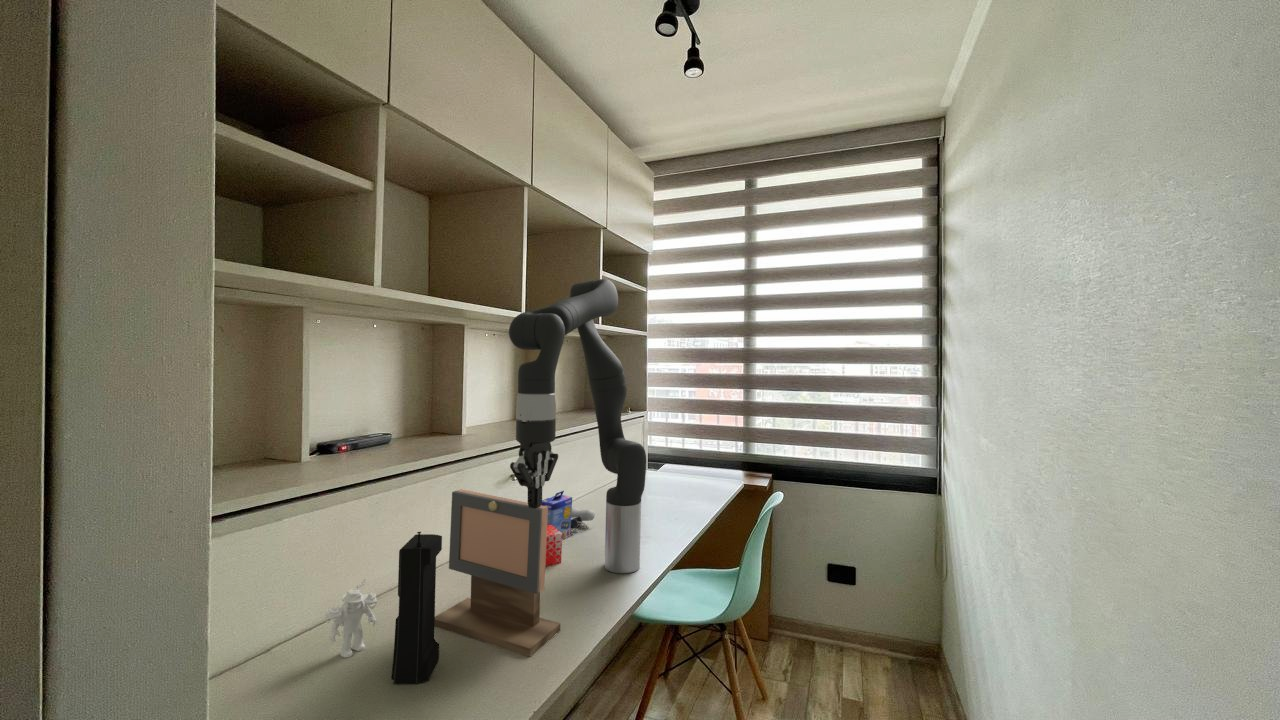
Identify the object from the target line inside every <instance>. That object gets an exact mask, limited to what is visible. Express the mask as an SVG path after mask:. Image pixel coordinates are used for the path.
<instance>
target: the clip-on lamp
mask: <svg viewBox="0 0 1280 720" xmlns="http://www.w3.org/2000/svg"><path fill="white" fill-rule="evenodd" d="M595 515H596V513H595V511H594V510H593V509H580V508H578V507H572V513H571V529H577V528H578V527H579V526H580V525H583V526H586V523H585V522H586V521H593V520H594V519H595Z"/></svg>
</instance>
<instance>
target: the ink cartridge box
mask: <svg viewBox="0 0 1280 720" xmlns="http://www.w3.org/2000/svg"><path fill="white" fill-rule="evenodd" d="M564 491H565V490H561V491H559V492H556V493H555V495H553V496H552V497H547V498H545V499H542V506H547V507H548V519H547V525H553V526H554V527H555V528H556V529H557V530H558V531H560V532H561V533H562V541H563V540H565V539H568V538H570V537H571V529H572V528H571V513H572V508H573V497H572V496H570V495H569V496H568V495H564Z"/></svg>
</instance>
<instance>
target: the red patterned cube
mask: <svg viewBox="0 0 1280 720" xmlns="http://www.w3.org/2000/svg"><path fill="white" fill-rule="evenodd" d="M562 543H563V540H562V533H561V532H560V531H558V530H557V529H556V528H555V527H554V526H553V525H547V541H546V562H545V567H546V566H553V565H556V564H561V563H562V554H563V553H562V551H563V550H562V547H563V544H562Z"/></svg>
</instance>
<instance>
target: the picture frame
mask: <svg viewBox="0 0 1280 720" xmlns="http://www.w3.org/2000/svg"><path fill="white" fill-rule="evenodd" d="M450 509H451V512H450V514H451V516H450V532H449V533H450V534H449V536H450V537H449V558H448V569H449V570H452V571H454V572H455V571H456V572H459V573H463V574H465V575H469V576H471V575H472V576H476V577H479V578H483V579H486V580H490V581H493V582H497V583H500V584H504V585H507V586H511V587H514V588H518V589H521V590H524V591H528V592H531V593H535V594H537V593H539V592H540V593H541V592H542V591H544V590H545V581H546V566H545V562H546V541H547V519H548V507H547V506H542V505H541V506H539V507H536V508H534V507H529V506H528V501H527V502H526V501H522V500H517V499H513V498H506V497H502V496H501V497H500V496H496V495H491V494H486V493H481V492H477V491H473V490H465V489H462V488H461V489H460V488H459V489H457V490H454V491H452V492H451V508H450Z"/></svg>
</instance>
